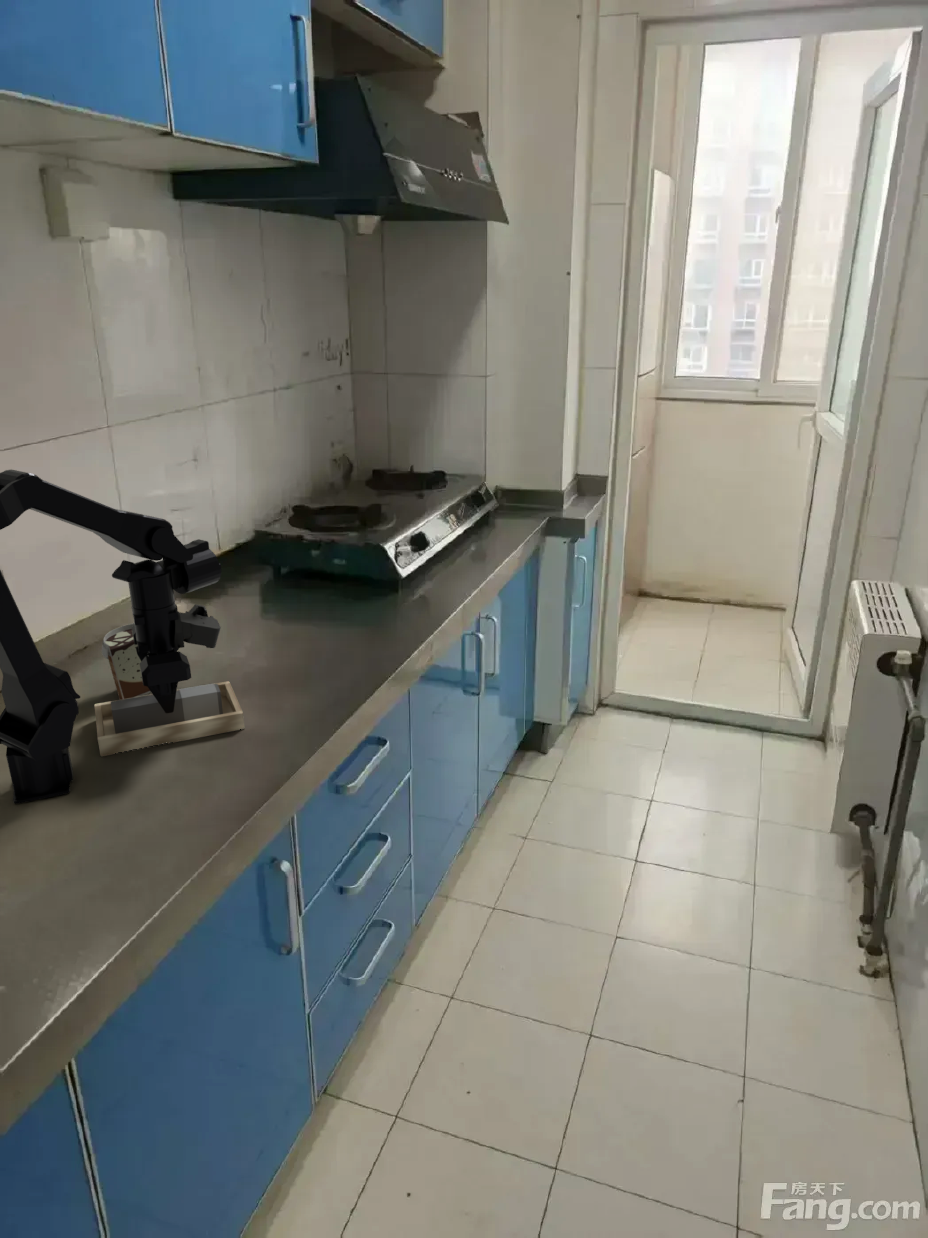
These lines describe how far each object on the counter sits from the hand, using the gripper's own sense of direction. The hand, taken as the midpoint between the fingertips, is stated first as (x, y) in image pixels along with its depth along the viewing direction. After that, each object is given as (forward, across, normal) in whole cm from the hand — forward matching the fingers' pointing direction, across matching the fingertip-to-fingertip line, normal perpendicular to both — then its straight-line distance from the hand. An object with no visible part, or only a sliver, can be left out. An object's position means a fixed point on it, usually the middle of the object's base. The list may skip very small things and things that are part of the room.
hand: (167, 703), depth 125 cm
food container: (+4, +15, +3) cm, 16 cm away
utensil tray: (+4, 0, 0) cm, 4 cm away
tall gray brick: (+3, 0, 0) cm, 3 cm away
